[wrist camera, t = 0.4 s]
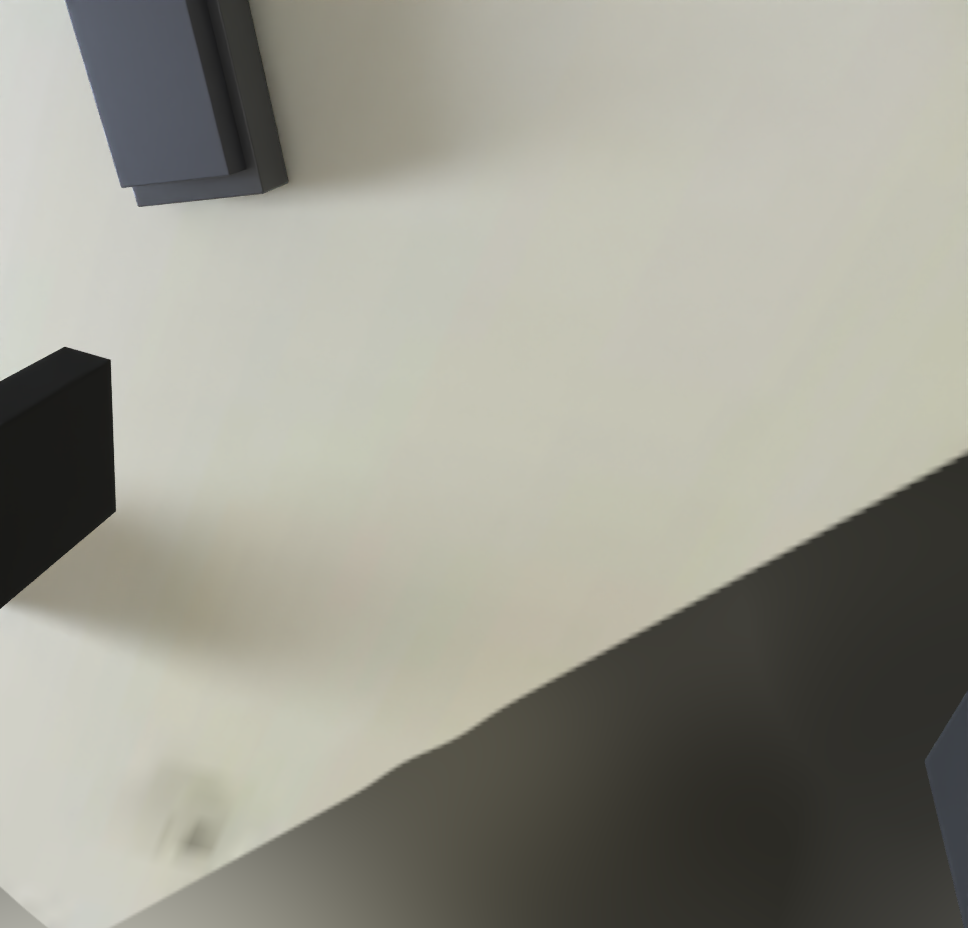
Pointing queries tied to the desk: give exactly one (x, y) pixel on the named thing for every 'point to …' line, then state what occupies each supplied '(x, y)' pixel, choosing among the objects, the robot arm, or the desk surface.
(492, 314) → the desk surface
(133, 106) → the dark grey stepped block
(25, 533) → the robot arm
